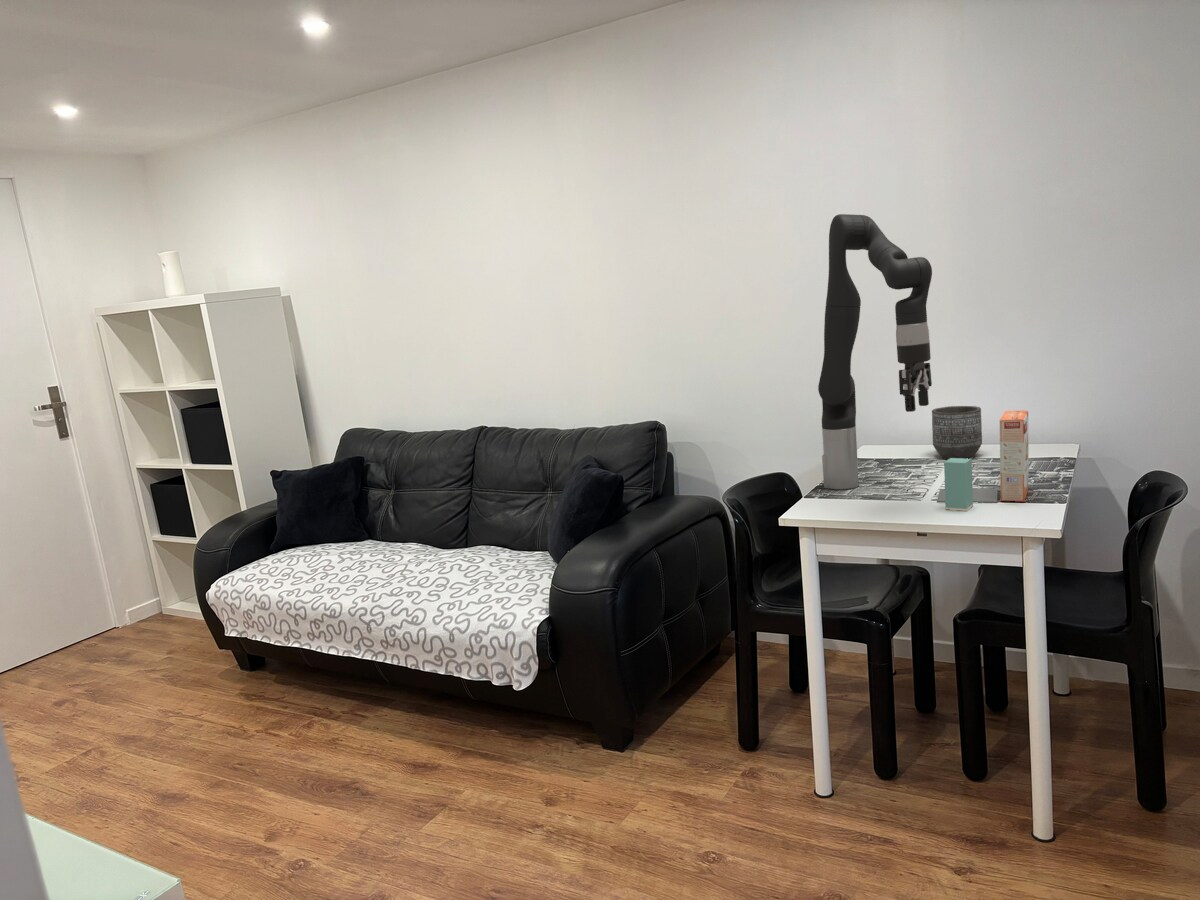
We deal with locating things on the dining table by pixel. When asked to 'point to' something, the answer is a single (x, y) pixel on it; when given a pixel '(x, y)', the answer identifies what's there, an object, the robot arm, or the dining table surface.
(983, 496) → the grey mat
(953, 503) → the teal block
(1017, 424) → the cracker box
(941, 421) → the planter
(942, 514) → the dining table surface
